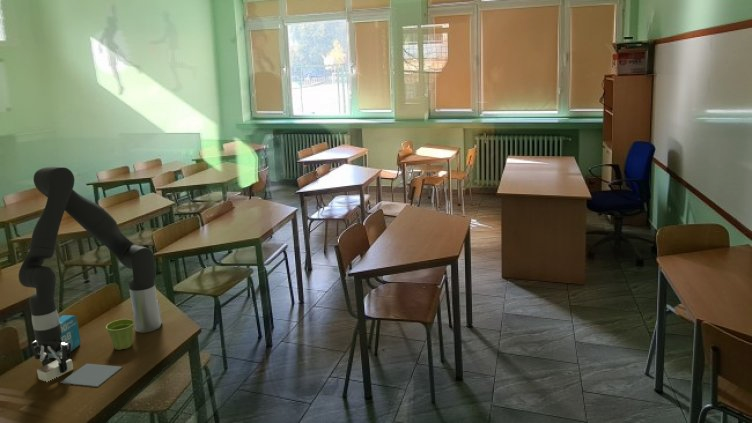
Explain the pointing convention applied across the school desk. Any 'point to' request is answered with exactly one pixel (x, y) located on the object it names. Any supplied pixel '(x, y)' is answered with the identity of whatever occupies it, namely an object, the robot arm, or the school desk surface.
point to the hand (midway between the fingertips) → (55, 370)
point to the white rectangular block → (53, 370)
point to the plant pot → (121, 333)
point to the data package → (69, 332)
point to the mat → (91, 375)
